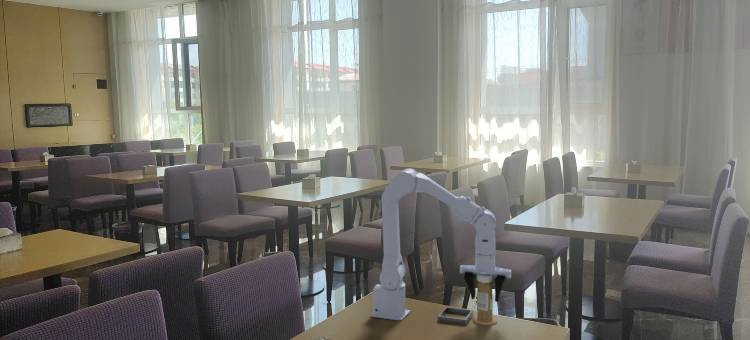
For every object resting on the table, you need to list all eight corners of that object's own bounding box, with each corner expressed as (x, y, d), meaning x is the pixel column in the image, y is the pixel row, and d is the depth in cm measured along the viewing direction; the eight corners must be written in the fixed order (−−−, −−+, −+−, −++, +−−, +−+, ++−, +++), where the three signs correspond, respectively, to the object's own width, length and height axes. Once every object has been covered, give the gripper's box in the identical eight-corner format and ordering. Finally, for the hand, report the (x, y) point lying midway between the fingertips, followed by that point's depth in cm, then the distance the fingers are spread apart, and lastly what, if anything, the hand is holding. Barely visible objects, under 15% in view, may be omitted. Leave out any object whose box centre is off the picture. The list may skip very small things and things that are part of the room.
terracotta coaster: (470, 323, 165) (470, 321, 165) (475, 314, 171) (475, 313, 171) (494, 326, 162) (494, 324, 162) (499, 318, 168) (499, 316, 168)
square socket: (437, 321, 167) (437, 316, 166) (445, 311, 174) (445, 306, 174) (466, 325, 163) (466, 320, 163) (473, 314, 171) (473, 310, 171)
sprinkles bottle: (496, 319, 166) (496, 274, 164) (484, 323, 163) (484, 277, 162) (484, 315, 169) (484, 270, 168) (473, 318, 167) (473, 273, 165)
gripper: (456, 254, 163) (456, 300, 165) (508, 259, 158) (508, 306, 159) (463, 248, 170) (463, 293, 171) (512, 252, 164) (512, 298, 166)
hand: (485, 299), depth 166 cm, fingers open, 6 cm apart
